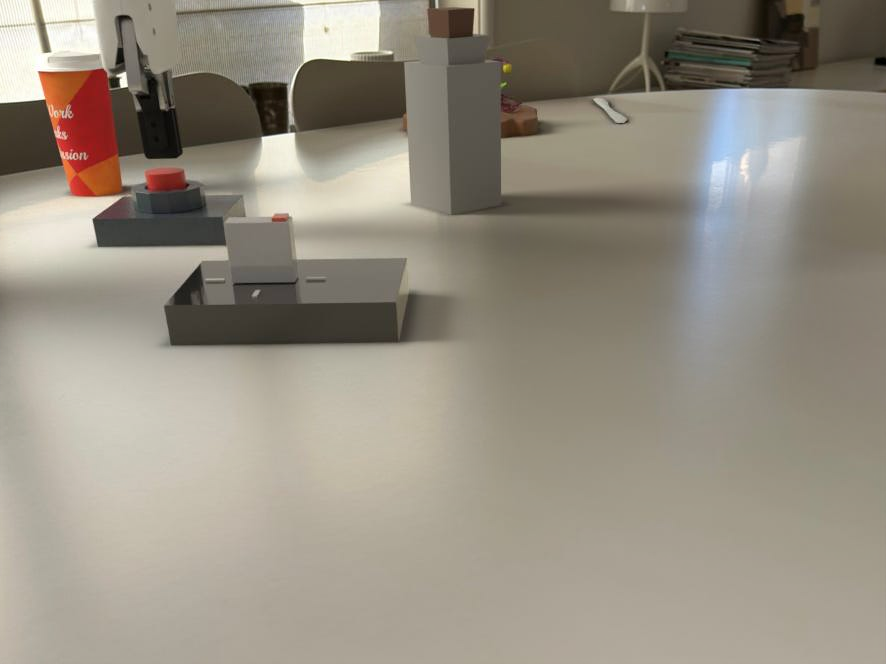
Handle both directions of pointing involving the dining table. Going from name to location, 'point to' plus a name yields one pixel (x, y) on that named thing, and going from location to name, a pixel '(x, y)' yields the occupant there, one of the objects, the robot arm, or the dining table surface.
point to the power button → (165, 179)
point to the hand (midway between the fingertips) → (164, 156)
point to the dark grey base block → (292, 305)
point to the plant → (510, 113)
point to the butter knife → (610, 110)
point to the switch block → (167, 217)
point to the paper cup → (82, 120)
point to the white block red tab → (261, 249)
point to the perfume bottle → (453, 116)
